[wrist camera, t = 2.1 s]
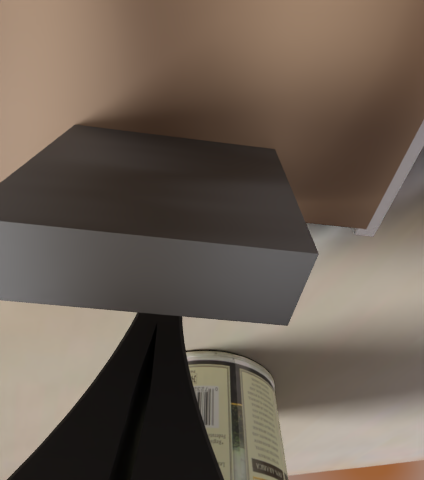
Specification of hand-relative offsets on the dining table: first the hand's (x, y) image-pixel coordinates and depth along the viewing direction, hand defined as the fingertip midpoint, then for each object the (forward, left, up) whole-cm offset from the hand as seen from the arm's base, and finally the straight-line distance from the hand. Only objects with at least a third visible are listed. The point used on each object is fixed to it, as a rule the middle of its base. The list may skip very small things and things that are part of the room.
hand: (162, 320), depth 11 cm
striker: (0, -8, -4) cm, 9 cm away
